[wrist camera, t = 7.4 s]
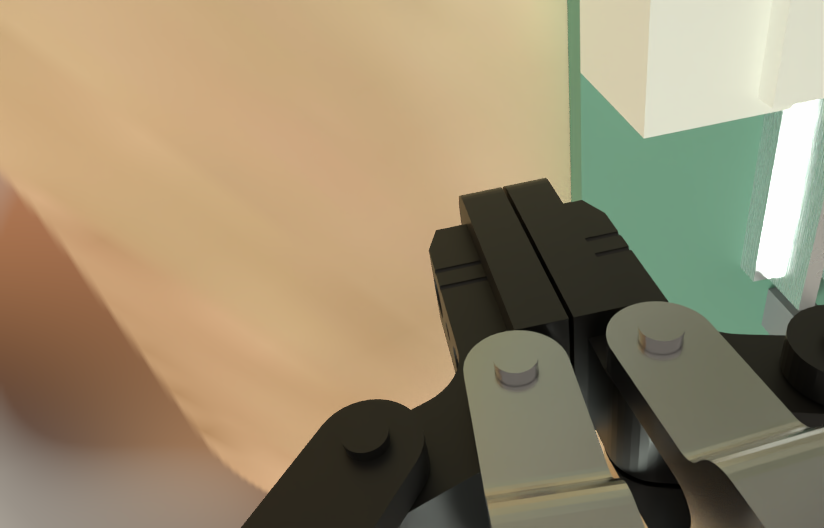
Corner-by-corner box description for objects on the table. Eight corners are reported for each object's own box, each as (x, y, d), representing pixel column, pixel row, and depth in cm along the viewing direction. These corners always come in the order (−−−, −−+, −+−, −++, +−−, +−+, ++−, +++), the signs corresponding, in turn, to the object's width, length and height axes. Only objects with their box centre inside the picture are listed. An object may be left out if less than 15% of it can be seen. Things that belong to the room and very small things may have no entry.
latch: (849, -115, 20) (1015, -83, 15) (822, 23, 22) (959, 88, 18) (578, -62, 20) (664, -12, 15) (580, 72, 22) (655, 149, 18)
